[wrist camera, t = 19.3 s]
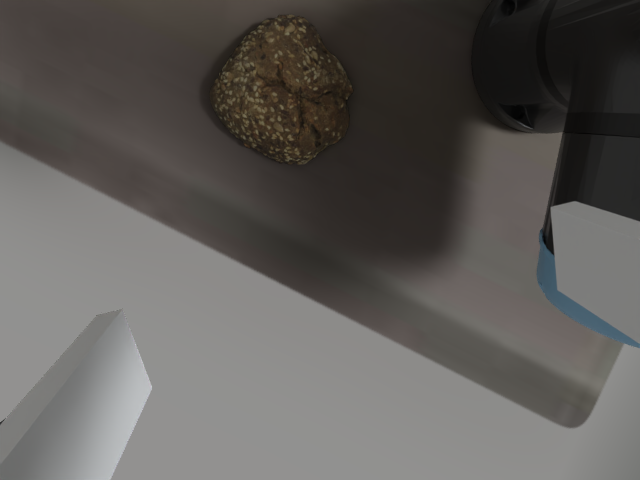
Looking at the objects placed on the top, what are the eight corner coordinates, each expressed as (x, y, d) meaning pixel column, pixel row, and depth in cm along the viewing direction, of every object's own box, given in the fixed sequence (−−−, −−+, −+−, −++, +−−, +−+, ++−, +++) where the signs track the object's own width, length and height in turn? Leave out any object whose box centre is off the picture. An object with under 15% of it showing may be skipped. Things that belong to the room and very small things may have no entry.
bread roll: (193, 92, 44) (183, 89, 40) (287, -4, 43) (288, -19, 38) (287, 189, 48) (288, 197, 43) (378, 103, 46) (389, 102, 41)
